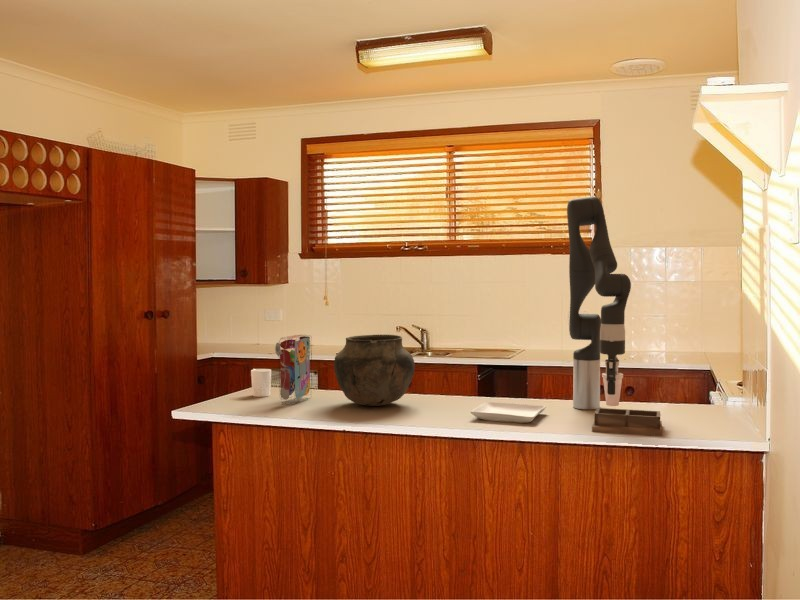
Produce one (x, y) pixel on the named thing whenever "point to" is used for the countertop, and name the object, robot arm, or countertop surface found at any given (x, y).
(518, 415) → the salad plate
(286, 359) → the box
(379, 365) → the pot
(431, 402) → the countertop surface
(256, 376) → the white cup
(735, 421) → the countertop surface
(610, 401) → the smoothie
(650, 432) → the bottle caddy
